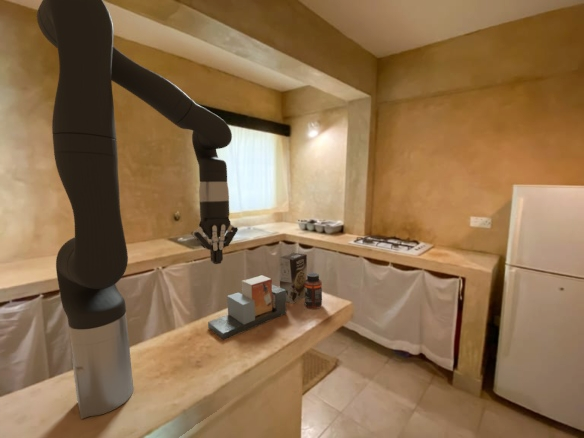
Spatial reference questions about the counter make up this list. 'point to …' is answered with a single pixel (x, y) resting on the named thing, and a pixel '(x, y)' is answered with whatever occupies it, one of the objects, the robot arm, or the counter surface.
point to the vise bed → (232, 327)
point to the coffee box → (293, 276)
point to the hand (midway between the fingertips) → (216, 263)
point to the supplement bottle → (313, 291)
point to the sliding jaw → (241, 308)
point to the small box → (259, 293)
